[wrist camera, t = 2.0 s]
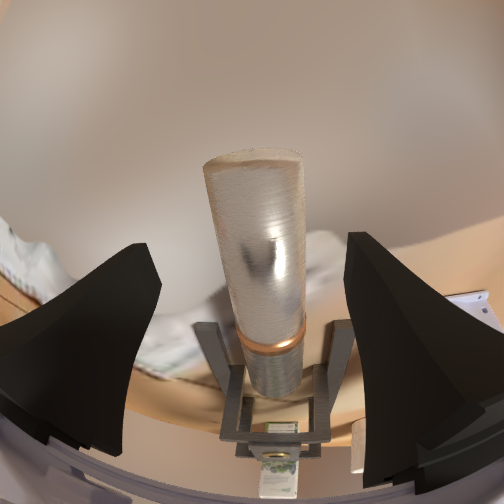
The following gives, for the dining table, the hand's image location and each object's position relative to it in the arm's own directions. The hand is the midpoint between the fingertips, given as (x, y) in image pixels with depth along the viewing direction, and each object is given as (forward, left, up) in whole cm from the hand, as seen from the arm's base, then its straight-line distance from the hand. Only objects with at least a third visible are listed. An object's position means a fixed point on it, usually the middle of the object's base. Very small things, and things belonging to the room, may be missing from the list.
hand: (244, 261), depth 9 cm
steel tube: (0, +8, -6) cm, 10 cm away
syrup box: (0, +43, -8) cm, 44 cm away
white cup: (-16, +44, -8) cm, 48 cm away
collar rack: (0, +25, -8) cm, 26 cm away
